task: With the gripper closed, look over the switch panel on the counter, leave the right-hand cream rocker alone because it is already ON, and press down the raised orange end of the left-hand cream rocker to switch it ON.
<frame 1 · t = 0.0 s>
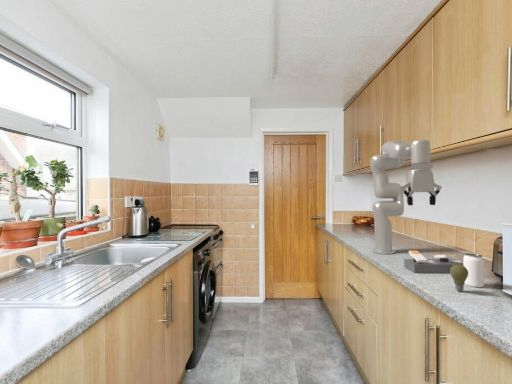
hand: (421, 205, 126), 31 cm above the worktop, tool pointing down, fingers open, 9 cm apart
rocker 2: (443, 256, 131), point 7 cm above the worktop, hinge at -15.0°
can: (473, 285, 110), on the worktop
rocker 1: (417, 256, 132), point 7 cm above the worktop, hinge at 15.0°
light bulb: (459, 291, 104), on the worktop
switch panel: (435, 270, 131), on the worktop
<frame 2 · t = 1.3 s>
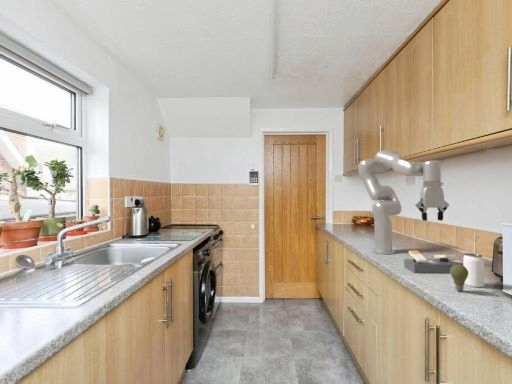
hand: (432, 220, 140), 23 cm above the worktop, tool pointing down, fingers open, 6 cm apart
nothing on the worktop moved.
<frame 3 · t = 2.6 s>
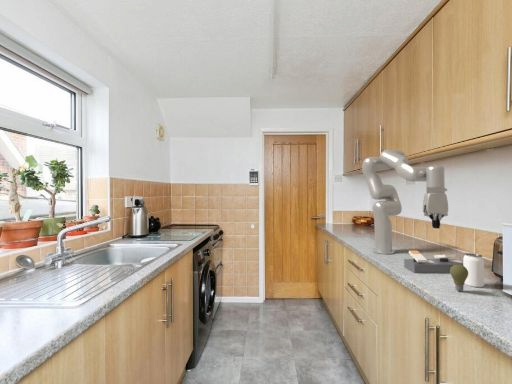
hand: (436, 228, 137), 19 cm above the worktop, tool pointing down, fingers closed
nothing on the worktop moved.
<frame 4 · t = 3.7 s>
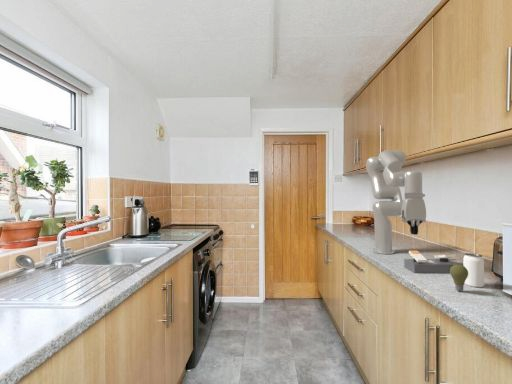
hand: (414, 234, 135), 17 cm above the worktop, tool pointing down, fingers closed
nothing on the worktop moved.
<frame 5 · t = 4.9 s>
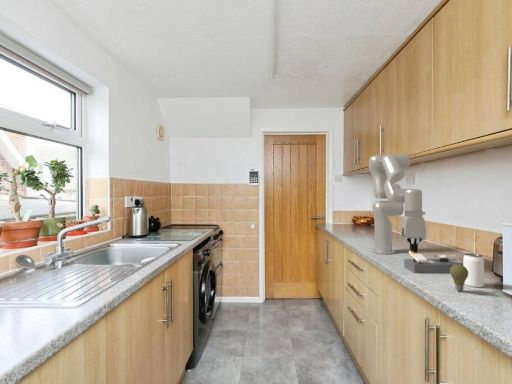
hand: (414, 251, 135), 8 cm above the worktop, tool pointing down, fingers closed
rocker 1: (417, 256, 132), point 7 cm above the worktop, hinge at 14.6°, touching gripper
everything else where it was.
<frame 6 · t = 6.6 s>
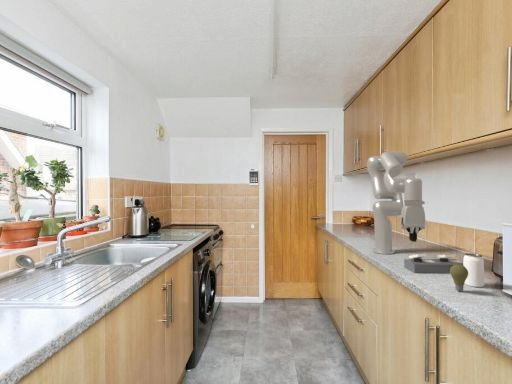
hand: (413, 241, 136), 13 cm above the worktop, tool pointing down, fingers closed
rocker 1: (417, 256, 132), point 7 cm above the worktop, hinge at -18.8°
everything else where it was.
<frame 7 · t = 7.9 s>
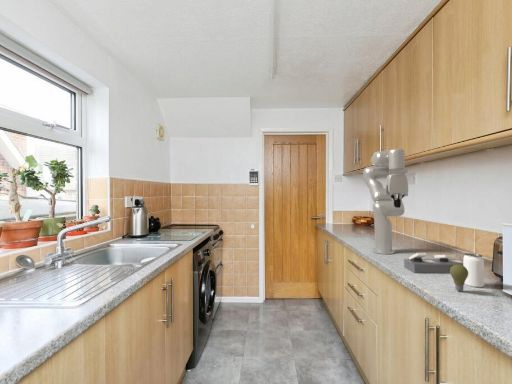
hand: (397, 207, 146), 29 cm above the worktop, tool pointing down, fingers closed
rocker 1: (417, 256, 132), point 7 cm above the worktop, hinge at -26.6°, touching switch panel
everything else where it was.
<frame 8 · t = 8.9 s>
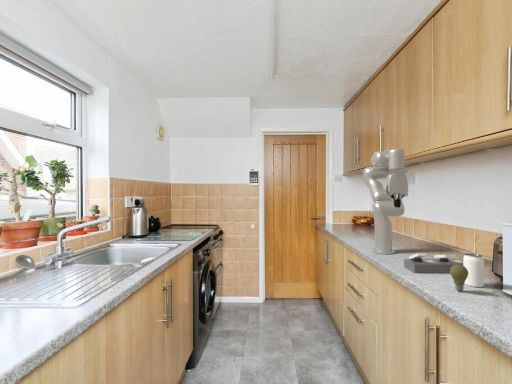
hand: (397, 207, 146), 29 cm above the worktop, tool pointing down, fingers closed
rocker 1: (417, 256, 132), point 7 cm above the worktop, hinge at -24.2°
everything else where it was.
at the end: rocker 1 at -24° (first picture: +15°); rocker 2 at -15° (first picture: -15°) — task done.
